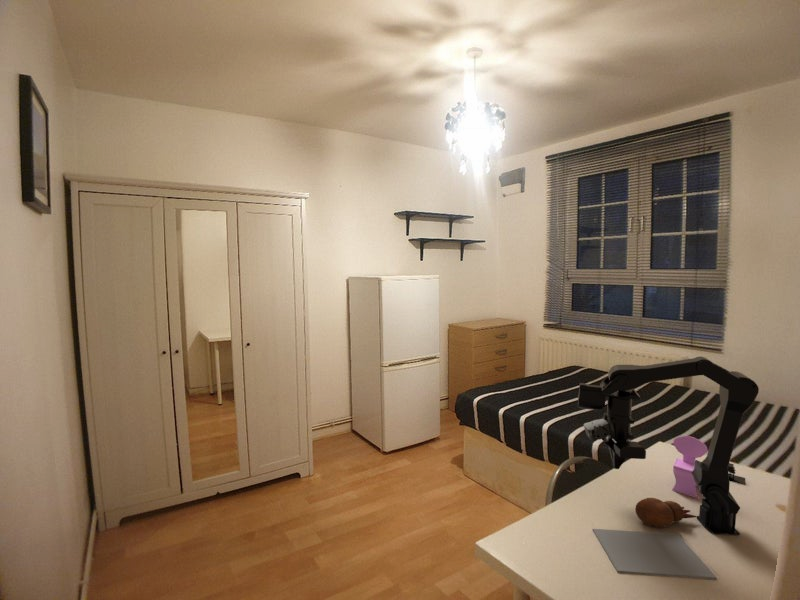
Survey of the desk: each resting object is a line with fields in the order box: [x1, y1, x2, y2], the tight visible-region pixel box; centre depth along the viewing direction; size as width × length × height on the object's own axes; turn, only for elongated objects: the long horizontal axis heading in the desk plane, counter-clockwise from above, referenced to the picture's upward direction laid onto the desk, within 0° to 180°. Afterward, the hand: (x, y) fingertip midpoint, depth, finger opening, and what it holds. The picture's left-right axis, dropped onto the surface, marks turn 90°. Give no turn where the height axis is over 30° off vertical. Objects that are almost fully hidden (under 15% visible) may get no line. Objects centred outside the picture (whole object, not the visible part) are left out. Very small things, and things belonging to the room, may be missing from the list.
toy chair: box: [671, 435, 709, 499], centre depth 120 cm, size 8×9×15 cm
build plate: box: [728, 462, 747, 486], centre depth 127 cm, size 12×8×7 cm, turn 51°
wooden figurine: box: [635, 497, 698, 528], centre depth 105 cm, size 7×6×15 cm
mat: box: [592, 528, 718, 580], centre depth 93 cm, size 20×14×1 cm
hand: (616, 468), depth 111 cm, fingers closed
